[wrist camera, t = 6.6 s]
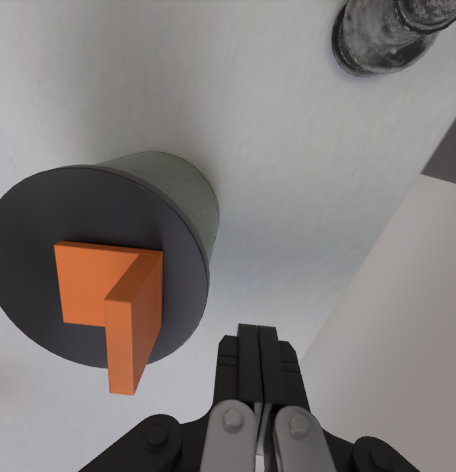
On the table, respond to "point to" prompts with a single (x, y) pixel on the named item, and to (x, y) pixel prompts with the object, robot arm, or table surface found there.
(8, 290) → the green lidded canister
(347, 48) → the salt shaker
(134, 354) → the lid slider
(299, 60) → the table surface
